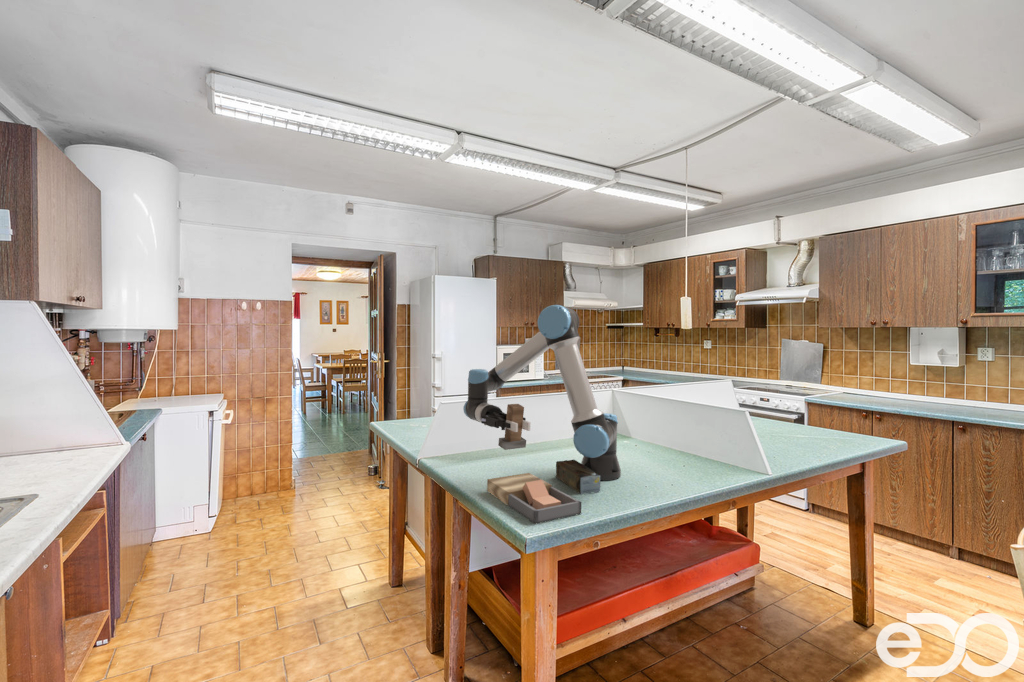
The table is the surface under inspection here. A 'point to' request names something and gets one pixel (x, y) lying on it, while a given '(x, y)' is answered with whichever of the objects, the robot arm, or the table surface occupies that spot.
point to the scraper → (511, 437)
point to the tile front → (545, 502)
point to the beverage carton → (578, 476)
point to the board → (512, 486)
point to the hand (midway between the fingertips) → (523, 427)
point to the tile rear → (534, 490)
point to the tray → (545, 514)
